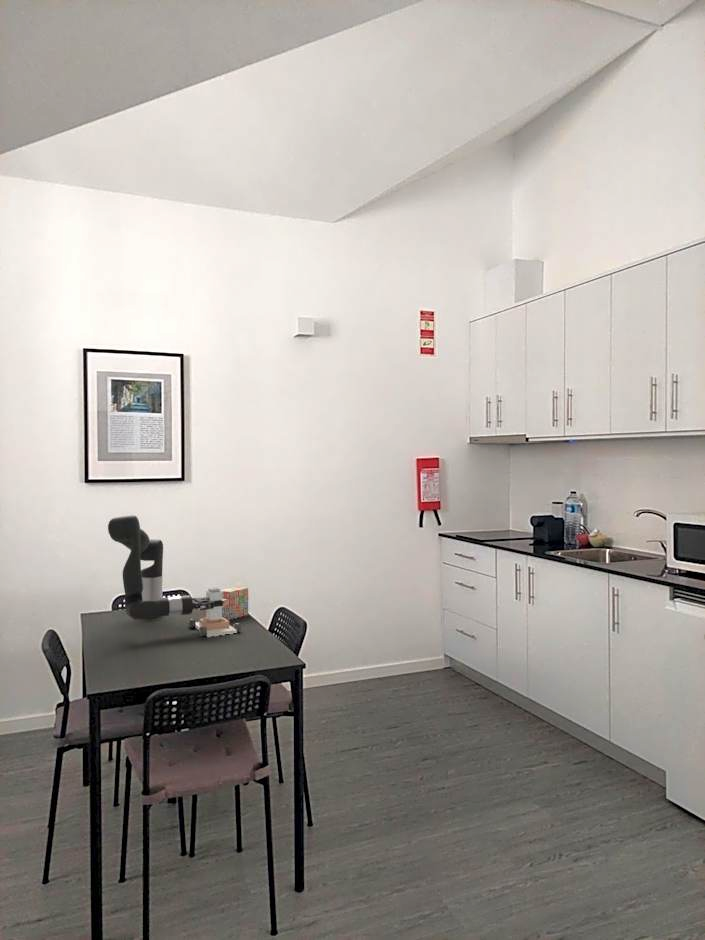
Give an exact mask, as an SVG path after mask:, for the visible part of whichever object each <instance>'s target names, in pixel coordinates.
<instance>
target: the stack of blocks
mask: <svg viewBox="0 0 705 940" xmlns="http://www.w3.org/2000/svg"><path fill="white" fill-rule="evenodd" d="M220 591H221V592H222V601H223V606H222V616H224V615H227V616H228V619H229V621H231V620H230V619H232V620H234V619H233V618H235V619H238V618H237V617H239V618H241V617H242V616H243V617H246V616H248V615H249V588H248V587H246V586H234V587H232V586H231V587H229V588H225V589H220ZM247 614H248V615H247ZM245 615H246V616H245ZM243 617H242V618H243ZM203 618H206V610H203Z"/></svg>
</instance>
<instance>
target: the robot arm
mask: <svg viewBox="0 0 705 940" xmlns="http://www.w3.org/2000/svg"><path fill="white" fill-rule="evenodd" d="M107 531H108V534H109V536H110V538H111V539H112V540H113V541H114V542H117V543H119V544H122V545H123V546H124V547H126V548H127V549H129V550H130V552H129V555H128V557H127V560H126V562H125V564H124V567H123V569H122V582H123V583H122V584H123V588H124V589H123V590H124V608H125V609H124V610H125V612H126V615H127V616H129V617H130V618H131V619H134V620H145V619H147V620H148V619H150V618H155V617H157V618H158V617H167V616H169V617H172V616H173V617H175V616H186V615H191V614H192V613H193V610H194V609H195V610H196V611H204V610H206V609H213V608H214V607H218V606H223V601H222V600H220V601H208V600H206V596H205V597H192V596H191V595H190V594H186V595H175V596H169V597H168V596H167V597H163V565H164V564H163V562H164V561H163V559H164V544H163V541H162V539H150V538H149V535H148V533H146V531H144V530H143V529H142V528H141V526H140V521H139V519H138V517H137V516H136V515H133V514H132V515H125V516H117V517H113V518H111V519H110V520H109V521H108V524H107ZM141 561H145V562H153V564H152V565H150V566H148V567H144V568H142V569H141V567H142V565H141ZM209 604H211V606H209Z"/></svg>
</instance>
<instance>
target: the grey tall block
mask: <svg viewBox="0 0 705 940" xmlns="http://www.w3.org/2000/svg"><path fill="white" fill-rule="evenodd" d="M220 590H221V589H220V588H218V587H212V588H211V587H210V588H208V589H207V590H206V591H205V594H206V595H205V598H206V600H208V601H220V600H222V592H221V591H220ZM209 606H211V604H209ZM206 618H207V619H209V620H219V619H222V606H218V607H214V608H213V609H206Z"/></svg>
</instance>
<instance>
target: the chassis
mask: <svg viewBox="0 0 705 940" xmlns="http://www.w3.org/2000/svg"><path fill="white" fill-rule="evenodd" d="M187 624H188V625H187V626H188V628H189V627H190V628H189V629H193V628H194V627H195V628H194V629H196V630H197V629H198V630H199V631H198V630H197V631H198V632H199V633H198V634H199V637H206V636H207V637H206V638H213V637H212V636H214V637H220V636H219V635H222V636H226V635H225V634H230V635H234V634H233V633H237V634H238V633H240V632H241V631H242V624H241V623H240V622H235V623H233V625H232V626H231V625H230V620H229V619H228V616H227V615H224V616H222V619H219V620H209V619H207V618H204V617H203V618H199V619H198V622H197V621H196V619H195V618H191V619H188V623H187Z"/></svg>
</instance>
